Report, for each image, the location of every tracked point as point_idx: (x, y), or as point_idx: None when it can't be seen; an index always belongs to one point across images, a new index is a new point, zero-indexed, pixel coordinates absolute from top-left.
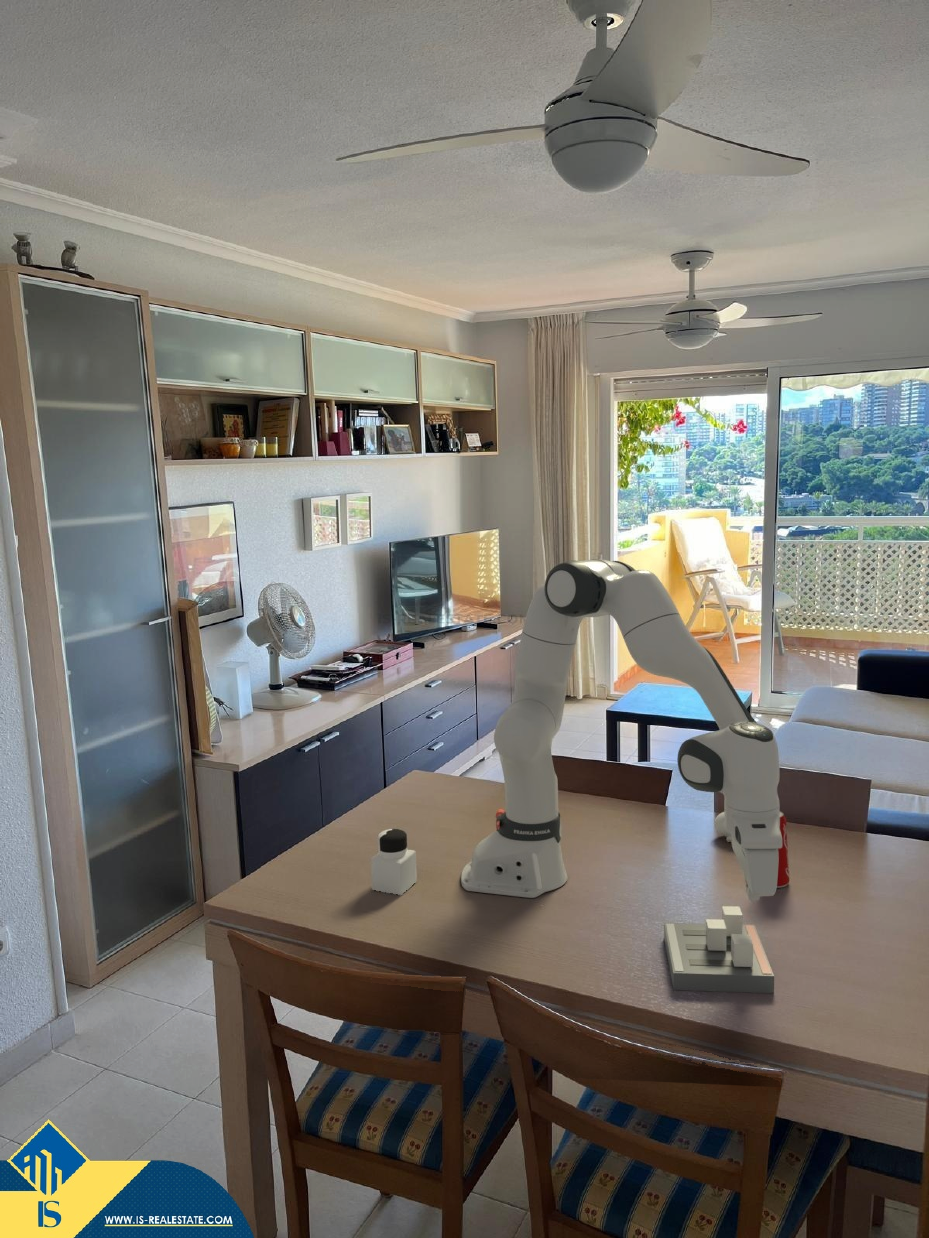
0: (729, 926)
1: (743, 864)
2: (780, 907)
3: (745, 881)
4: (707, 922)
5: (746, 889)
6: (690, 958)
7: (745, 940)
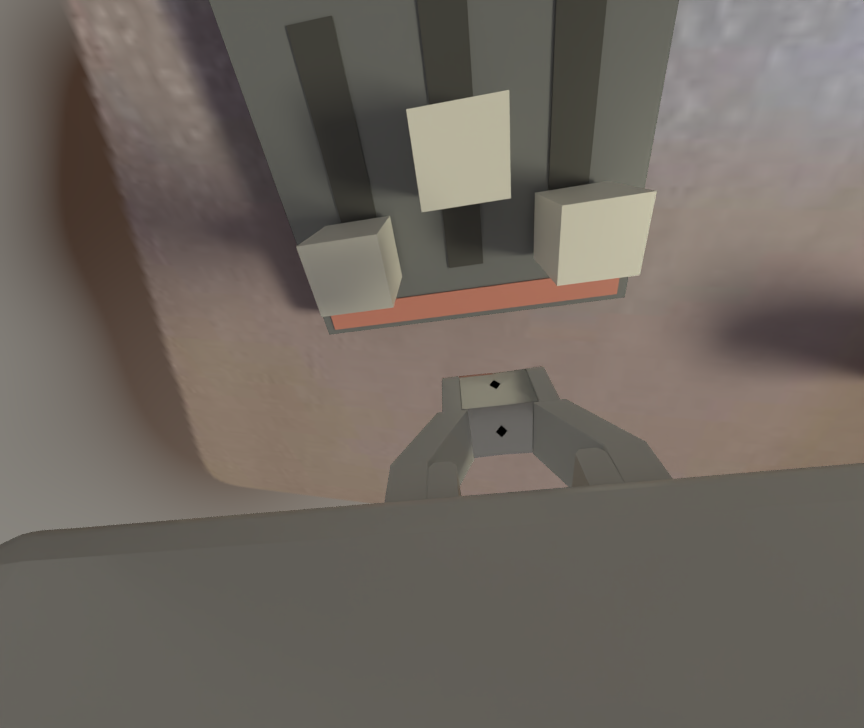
0: (544, 218)
1: (378, 653)
2: (779, 352)
3: (552, 412)
4: (471, 102)
5: (516, 386)
6: (343, 25)
7: (340, 290)
